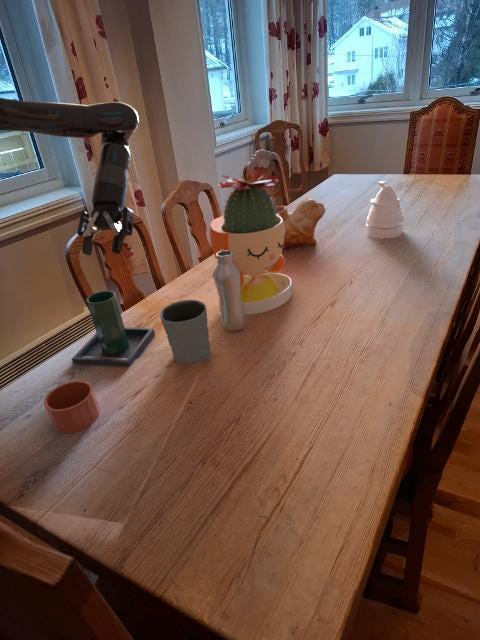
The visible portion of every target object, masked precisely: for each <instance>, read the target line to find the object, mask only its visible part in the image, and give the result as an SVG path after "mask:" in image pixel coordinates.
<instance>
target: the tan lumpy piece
mask: <svg viewBox="0 0 480 640" xmlns="http://www.w3.org/2000/svg"><path fill="white" fill-rule="evenodd" d="M275 206H276V207H275V209H276V208H277V209H276V211H278V212H276V214H280V216H281V218H282V220H283V224H284V229H285V242H284V246H283V250H282V251H285V250H284V249H286V250H290V249H289V248H291V249H294V248H293V247H296V248H299V247H298V246H301V247H307V246H306V245H308V246H315V245H317V244H316V243H317V240H316V237H315V232H316V227H317V224H318V223H319V222H320V220H321V219H323V217H324V215H325V213H326V208H325V205H324V203H322V202H317V201H316V200H315V199H312V198H311V197H304V198H303V199H302V200H301V201H300V202H298V204H297V206H295V208H294V209H293V210H292V211H291V212H290V211H289V212H288V207H287V206H286V205H275ZM278 209H279V210H278Z"/></svg>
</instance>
